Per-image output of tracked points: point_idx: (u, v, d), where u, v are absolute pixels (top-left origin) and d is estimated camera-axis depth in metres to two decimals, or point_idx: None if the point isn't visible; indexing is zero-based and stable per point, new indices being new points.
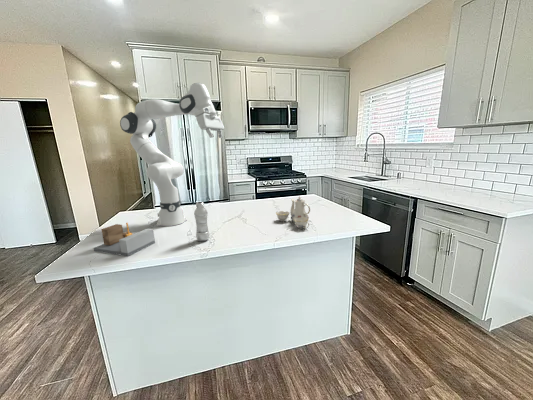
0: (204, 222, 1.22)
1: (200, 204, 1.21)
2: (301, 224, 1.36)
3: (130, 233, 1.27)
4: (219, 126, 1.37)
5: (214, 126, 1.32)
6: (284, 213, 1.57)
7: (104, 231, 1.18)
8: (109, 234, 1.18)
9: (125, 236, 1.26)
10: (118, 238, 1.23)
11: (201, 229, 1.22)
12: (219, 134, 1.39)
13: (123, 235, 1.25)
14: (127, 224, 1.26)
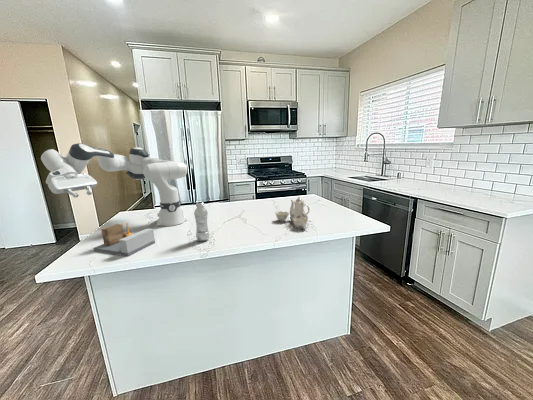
0: (204, 222, 1.22)
1: (200, 204, 1.21)
2: (300, 224, 1.36)
3: (130, 233, 1.27)
4: (86, 183, 1.26)
5: (75, 185, 1.21)
6: (283, 213, 1.56)
7: (104, 231, 1.18)
8: (109, 234, 1.18)
9: (125, 236, 1.26)
10: (118, 238, 1.23)
11: (201, 229, 1.22)
12: None
13: (123, 235, 1.25)
14: (127, 224, 1.26)
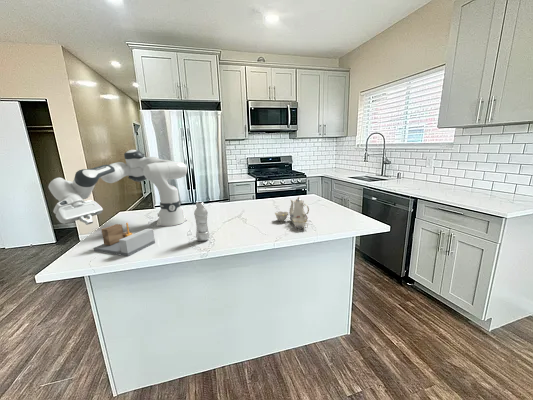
0: (204, 222, 1.22)
1: (200, 204, 1.21)
2: (300, 224, 1.36)
3: (130, 233, 1.27)
4: (92, 210, 1.29)
5: (82, 213, 1.24)
6: (283, 213, 1.56)
7: (104, 231, 1.18)
8: (109, 234, 1.18)
9: (125, 236, 1.26)
10: (118, 238, 1.23)
11: (201, 229, 1.22)
12: (89, 220, 1.26)
13: (123, 235, 1.25)
14: (127, 224, 1.26)
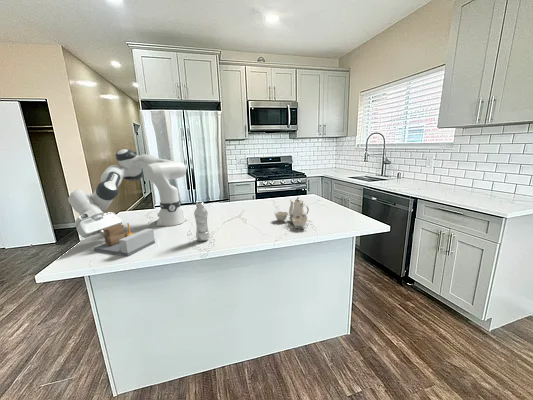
0: (204, 222, 1.22)
1: (200, 204, 1.21)
2: (299, 224, 1.36)
3: (131, 233, 1.27)
4: (112, 223, 1.26)
5: (102, 227, 1.21)
6: (283, 213, 1.56)
7: (106, 231, 1.18)
8: (111, 234, 1.18)
9: (126, 236, 1.26)
10: (120, 238, 1.22)
11: (201, 229, 1.22)
12: None
13: (125, 235, 1.25)
14: (128, 224, 1.25)
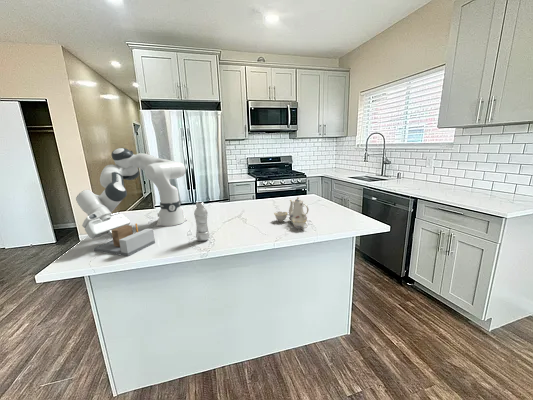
0: (204, 222, 1.22)
1: (200, 204, 1.21)
2: (299, 225, 1.35)
3: None
4: (120, 223, 1.25)
5: (111, 227, 1.19)
6: (282, 213, 1.56)
7: (114, 232, 1.16)
8: (119, 235, 1.16)
9: None
10: None
11: (201, 229, 1.22)
12: None
13: None
14: (136, 225, 1.24)
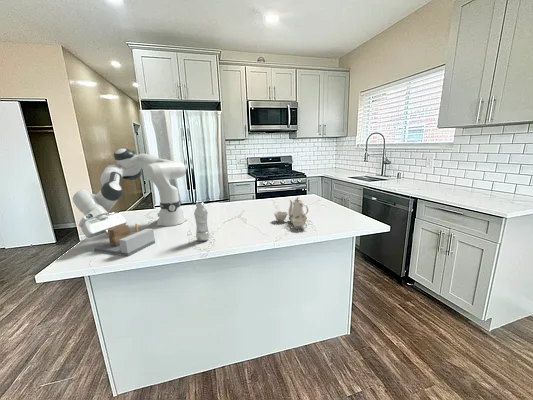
0: (204, 222, 1.22)
1: (200, 204, 1.21)
2: (299, 225, 1.35)
3: None
4: (117, 223, 1.25)
5: (107, 227, 1.20)
6: (282, 213, 1.56)
7: (110, 232, 1.17)
8: (115, 234, 1.17)
9: None
10: None
11: (201, 229, 1.22)
12: None
13: None
14: (136, 225, 1.24)
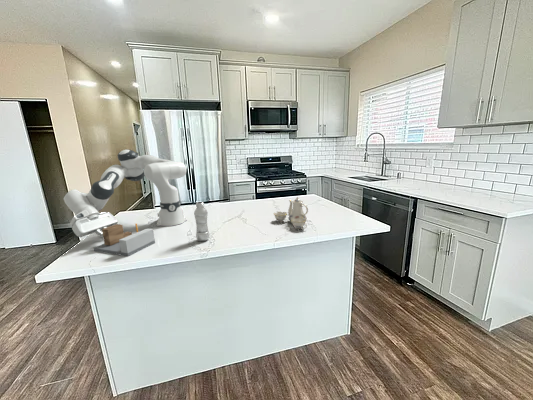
0: (204, 222, 1.22)
1: (200, 204, 1.21)
2: (299, 225, 1.35)
3: None
4: (108, 222, 1.27)
5: (98, 226, 1.22)
6: (282, 214, 1.56)
7: (104, 231, 1.18)
8: (109, 234, 1.18)
9: None
10: (118, 238, 1.23)
11: (201, 229, 1.22)
12: None
13: (123, 235, 1.25)
14: (136, 225, 1.24)
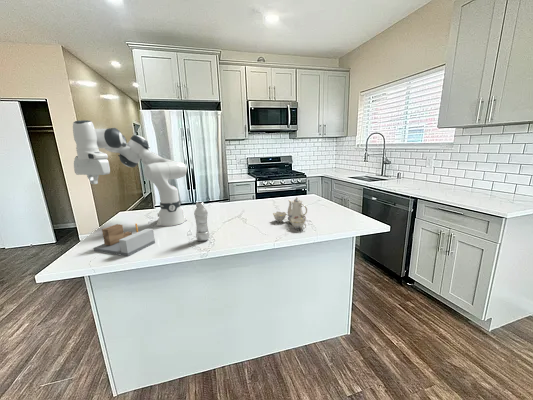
0: (204, 222, 1.22)
1: (200, 204, 1.21)
2: (298, 225, 1.35)
3: None
4: None
5: None
6: (281, 214, 1.55)
7: (104, 231, 1.18)
8: (109, 234, 1.18)
9: None
10: (118, 238, 1.23)
11: (201, 229, 1.22)
12: (91, 179, 1.20)
13: (123, 235, 1.25)
14: (136, 225, 1.24)
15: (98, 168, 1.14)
